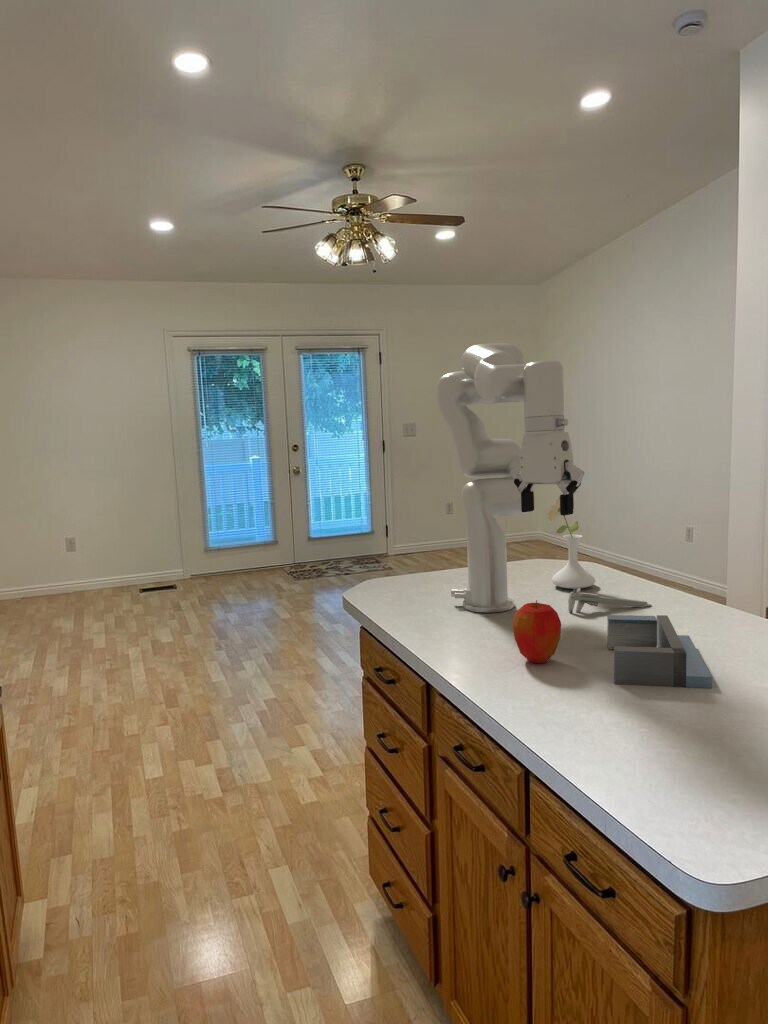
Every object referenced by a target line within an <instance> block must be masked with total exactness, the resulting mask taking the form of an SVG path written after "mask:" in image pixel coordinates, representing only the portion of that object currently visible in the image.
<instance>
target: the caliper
mask: <svg viewBox="0 0 768 1024" xmlns="http://www.w3.org/2000/svg"><path fill="white" fill-rule="evenodd" d="M581 589H582V588H578V589H576V588H574V589H572V591H570V593H569V596H568V607H567V609H568V612H569V613H570V614H573V610H574V607H576V608H575V613H577V614H580V613H581V611H582V609H583V607H584V605H585V604H587V605H589V606H595V607H598V606H599V604H603V605H604V604H605V605H616V606H623V607H633V608H647V607H653V605H652V604H651V603H648V602H647V600H646V601H645V600H637V599H628V598H619V597H618V598H617V597H610V596H609V597H608V596H600V595H599V594H596V593H589V592H581V591H582V590H581ZM576 603H577V604H576ZM575 604H576V606H575Z"/></svg>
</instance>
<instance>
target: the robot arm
mask: <svg viewBox="0 0 768 1024" xmlns="http://www.w3.org/2000/svg"><path fill="white" fill-rule="evenodd" d="M524 360H525V359H524V355H523V352H522V349H520V347H519V346H518V345H516V344H513V343H507V342H505V343H502V342H501V343H480V344H479V343H478V344H475V345H474V344H473V345H472V346H470V347H468V348H467V349H466V350H465V351H464V352H463V354H462V355H461V358H460V365H461V368H462V370H461V371H459V370H458V371H452V372H449V373H446V374H444V375H443V376H441V377H440V378H439V380H438V382H437V385H436V399H437V404H438V408H439V411H440V414H441V416H442V418H443V420H444V421H445V423H446V425H447V427H448V429H449V431H450V434H451V438H452V443H453V446H454V450H455V454H456V455H455V456H456V458H457V462H458V465H459V466H458V467H459V469H460V471H461V473H462V474H463V476H464V477H465V478H469V479H474V480H471V481H469V482H467V483H466V484H464V486H463V487H462V489H461V495H460V496H461V497H460V498H461V503H462V504H461V505H462V509H463V514H464V520H465V528H466V529H465V531H466V533H465V534H466V549H467V553H466V554H467V579H468V580H467V581H468V585H467V587H464V588H463V589H458V588H454V589H453V588H452V589H451V590H450V594H451V597H452V598H454V599H463V601H462V607H463V609H464V610H467V611H470V612H475V613H482V614H483V613H486V614H488V613H489V614H492V613H501V612H506V611H509V610H511V609H513V608H514V606H515V601H514V599H512V598H511V597H509V596H508V595H509V594H508V592H509V591H508V564H507V563H508V560H507V558H508V557H507V553H508V552H507V536H506V535H507V534H506V533H505V531H504V528H503V527H502V526H501V525H500V524H499V523H498V521H497V520H496V519H497V518H501V517H514V516H521V515H526V514H528V513H530V512H533V511H535V493H534V486H535V485H556V486H557V488H558V489H559V490H560V491H561V493H562V494H559V497H560V514H561V515H560V516H563V517H564V516H565V517H566V516H570V515H573V514H574V505H575V503H574V502H575V501H574V494H576V493H577V490H578V489H579V487H580V486H581V485H582V481H583V479H584V475H585V471H584V470H583V469H581V468H579V467H578V466H576V465H575V464H574V455H573V448H572V447H573V446H572V442H571V438H570V434H569V432H568V431H565V427H568V425H569V419H568V418H565V399H564V398H565V397H564V396H565V395H564V394H565V393H564V388H565V387H564V368H563V365H562V363H561V362H560V361H558V360H538V361H531V362H528V363H525V361H524ZM501 403H502V404H503V403H504V404H505V403H523V405H524V406H523V407H524V409H523V410H524V434H522V439H521V446H520V445H519V443H518V442H517V441H516V440H514V439H512V438H490V437H489V436H488V435H487V431H486V426H485V424H484V422H483V421H482V419H481V418H480V417H479V416H478V414H476V413H475V412H474V411H473V410H471V409H470V408H469V407H468V406H473V405H474V406H477V405H491V404H492V405H495V404H501Z"/></svg>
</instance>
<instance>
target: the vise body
mask: <svg viewBox="0 0 768 1024" xmlns="http://www.w3.org/2000/svg"><path fill="white" fill-rule="evenodd" d="M656 619H657V647H628V646H614V649H613V681H614V684H615V685H625V686H626V685H629V686H631V685H632V686H647V687H649V686H650V687H651V686H653V687H673V688H674V687H675V688H677V687H678V688H694V689H695V688H697V689H713V688H712V687H713V686H712V684H713V680H712V679H713V677H712V675H711V673H710V671H709V669H708V668H707V665H706V663H705V662H704V660H703V658H702V656H701V655H700V653H699V651H698V649H697V647H696V646H695V644H694V643H693V641H692V639H691V636H690V635H687V634H686V635H683V634H678V633H677V631H676V629H675V627H674V625H673V623H672V622H671V619H670V618H669V616H668V615H667V614H666V615H664V614H662V615H659V614H658V615H656Z"/></svg>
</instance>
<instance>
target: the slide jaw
mask: <svg viewBox="0 0 768 1024" xmlns="http://www.w3.org/2000/svg"><path fill="white" fill-rule="evenodd" d="M606 621H607V623H606V624H607V625H606V627H607V631H606V633H607V641H606V642H607V648H608V649H611V650H614V646H628V647H657V616H655V615H628V614H627V615H626V614H625V615H622V614H621V615H620V614H607V620H606Z"/></svg>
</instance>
